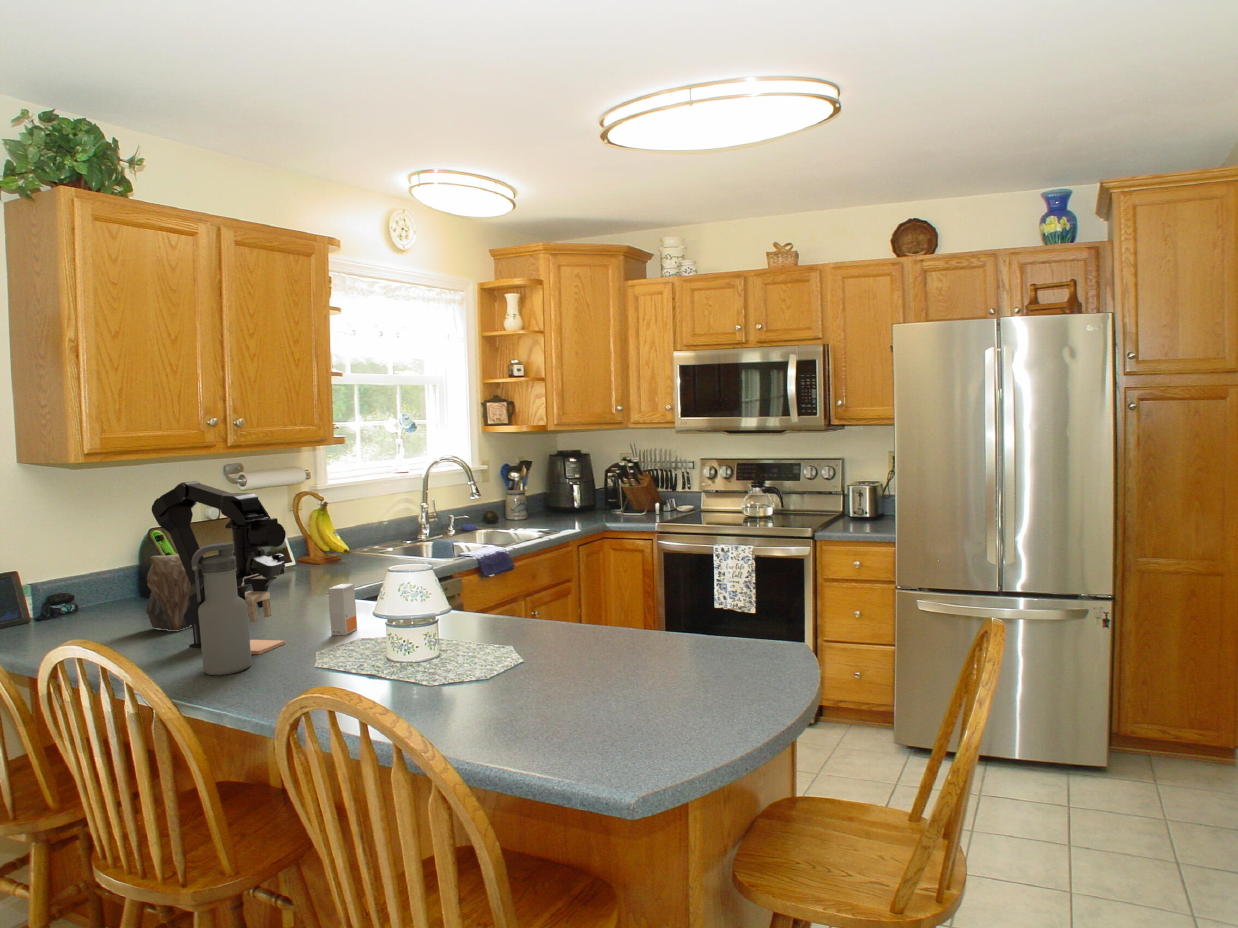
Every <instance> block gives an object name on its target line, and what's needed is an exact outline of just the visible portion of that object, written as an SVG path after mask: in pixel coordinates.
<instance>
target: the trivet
mask: <svg viewBox="0 0 1238 928" xmlns="http://www.w3.org/2000/svg"><path fill="white" fill-rule="evenodd" d="M283 645H286V640H278V639H277V640H275V639H274V640H273V639H272V640H270V639H250V649H251V655H261V654H263V653H266V652H268V651H271V650H273V648H274V649H276V648H278V647H280V646H283Z"/></svg>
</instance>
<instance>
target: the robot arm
mask: <svg viewBox="0 0 1238 928" xmlns="http://www.w3.org/2000/svg"><path fill="white" fill-rule="evenodd" d="M197 504H202V505H205V506H209V507H211V508H215V509H218V510H219V511H220V513H221V515H223V516H224V517H226V518H228V519H230V520H229V521H228V522H227V524H226V525H225V526H224V527H225V529H231V533H232V534H231V535H232V543H234V548H233V554H234V556H235V557H236V568H237V570H236V582H237V593H238V596H239V597H240V598H242V599H244V600H245V592H247V589H248V588H249V586H250V585H249V584H248V585H245V581H247V580H249V581H250V584H251V588H252V591H266V592H268V589H269V587H270V585H271V584H272V583H273V581H275V580H277V578H278V576H280V575H284V574H285V569H286V560H285V555H284V554H282V553H277V554H274V555H273V556H272V555H271V556H267V555H266V552H265V550H264V548H278V547H280V546H282V545H283V544H284V542H285V540H286V535H287V534H286V530H285V527H283V525H282V524H281V523H279V521H278V518H277V517H271V516H270V515H269V512H268V511H267V510H266V509H265V506H264V505H263V504H262V502H261V500H260V499H259V496H258V495H256V493H250V492H249V493H248V492H229V491H226V490H222V489H219V488H215V487H213V486H209V485H206V484H202V483H201V482H199V481H197V480H194V481H184V482H180V483H179V484H177V485H176V486H175V487H174V488H173V489H170V490H169V491H167V492H166V493H164V494H162V495H161V496H160V497H158V498H156V499H155V500H154V502H153V503H152V505H151V513H152V515H153V517H154V518H155V520H156V522H157V524H158V526H160V528H162V529H164V530H165V531H166V532H167V533H169V535H170V537H171V540H172V543H173V544H174V547H175V549H176V552H177V554H178V555H179V557H180V559H181V562H182V564H183V567H184V569H185V572H186V574H187V576H188V579H189V581H190V584H191V588H190V593H189V601H190V604H191V605H190V606H189V608H188V609H187V611H186V612H185V614H184V615H183V617H184V620H185V623H186V624H192V627H191V628H192V636H193V637H192V638H193V643H191V644H189V645H188V646H189V647H188V648H202V647H201V636H200V625H199V614H198V609H199V607H200V605H201V604H202V603H203V602H204V601H205V589H204V579H203V574H202V572H203V571H201V569H199V570H198V576H199V585H200V596H201V602H198V601H197V592H196V581H195V571H194V570H193V569H192V557H193V555H194V554H195V552H196V551H197V550H198V549H200V548H201V547H200V546H199V544H198V541H197V538H196V536H195V534H194V533H195V532H194V531H193V529H192V525H191V524H192V520H193V514H194V513H193V510H192V509H193V508H194V507H195V506H196V505H197ZM260 547H261V548H260ZM204 558H205V557H204V555H202V556H201V557H200V559H199V560H198V564H200V563H201V560H202V559H204ZM256 606H257V607H258V608H259V609H260V608H261V609H263V600H262V601H259V602H256Z"/></svg>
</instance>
